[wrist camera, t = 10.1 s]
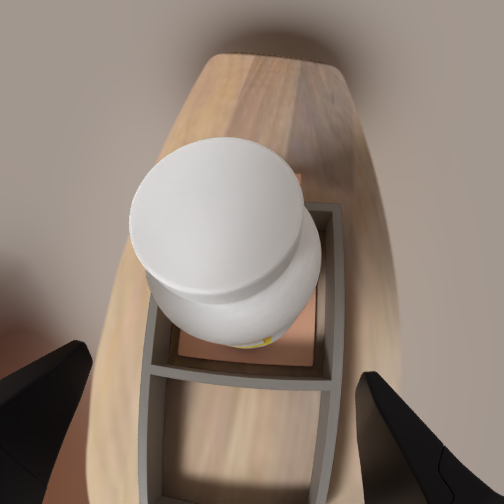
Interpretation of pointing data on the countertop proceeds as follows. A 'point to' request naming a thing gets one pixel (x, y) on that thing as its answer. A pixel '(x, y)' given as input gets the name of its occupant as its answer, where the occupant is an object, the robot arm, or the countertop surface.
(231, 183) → the supplement bottle
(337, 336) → the tray
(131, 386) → the countertop surface
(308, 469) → the countertop surface
